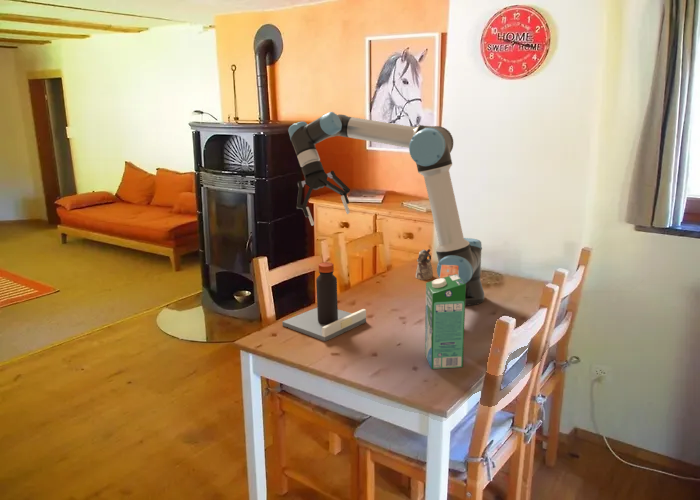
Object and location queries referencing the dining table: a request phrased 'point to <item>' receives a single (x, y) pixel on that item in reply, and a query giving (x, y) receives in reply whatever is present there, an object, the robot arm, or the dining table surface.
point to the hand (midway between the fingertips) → (330, 219)
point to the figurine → (424, 266)
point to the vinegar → (327, 294)
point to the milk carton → (445, 322)
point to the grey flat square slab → (313, 328)
